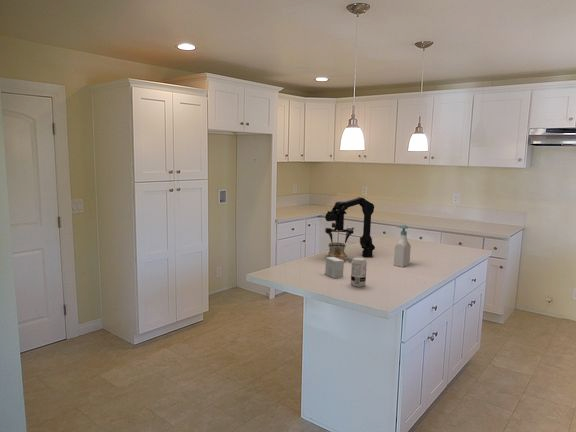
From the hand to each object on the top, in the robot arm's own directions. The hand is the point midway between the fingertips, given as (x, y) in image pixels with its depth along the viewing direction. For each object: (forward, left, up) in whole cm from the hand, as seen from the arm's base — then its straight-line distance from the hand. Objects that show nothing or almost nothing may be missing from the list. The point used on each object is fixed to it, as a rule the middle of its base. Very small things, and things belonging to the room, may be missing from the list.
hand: (338, 243), depth 288 cm
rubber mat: (-12, 0, -13) cm, 18 cm away
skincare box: (+8, +35, -13) cm, 38 cm away
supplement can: (-3, +53, -13) cm, 55 cm away
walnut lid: (0, 0, -8) cm, 8 cm away
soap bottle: (-41, +6, -13) cm, 44 cm away
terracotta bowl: (+1, 0, -13) cm, 13 cm away
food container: (-1, -14, -13) cm, 19 cm away
